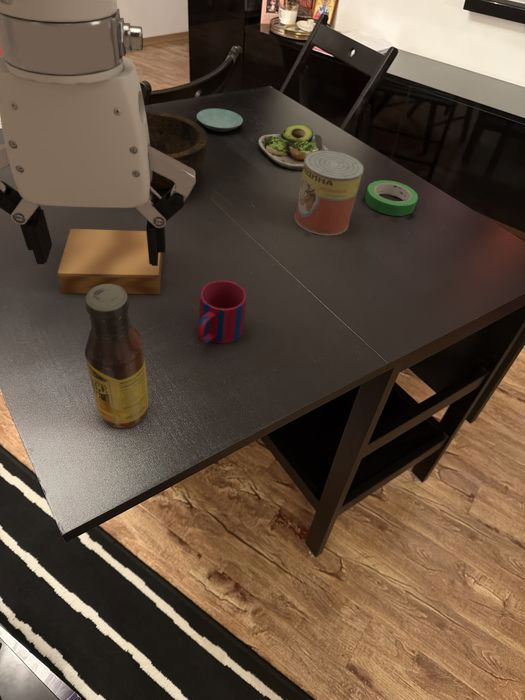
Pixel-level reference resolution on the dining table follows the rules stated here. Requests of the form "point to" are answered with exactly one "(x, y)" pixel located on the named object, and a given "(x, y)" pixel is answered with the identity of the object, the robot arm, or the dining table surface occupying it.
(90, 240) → the oak stand
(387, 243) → the dining table surface
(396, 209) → the tape roll
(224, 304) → the mug
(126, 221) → the dining table surface
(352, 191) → the canned food
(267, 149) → the avocado toast plate
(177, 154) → the bowl
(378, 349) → the dining table surface
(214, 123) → the saucer
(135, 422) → the sauce bottle
